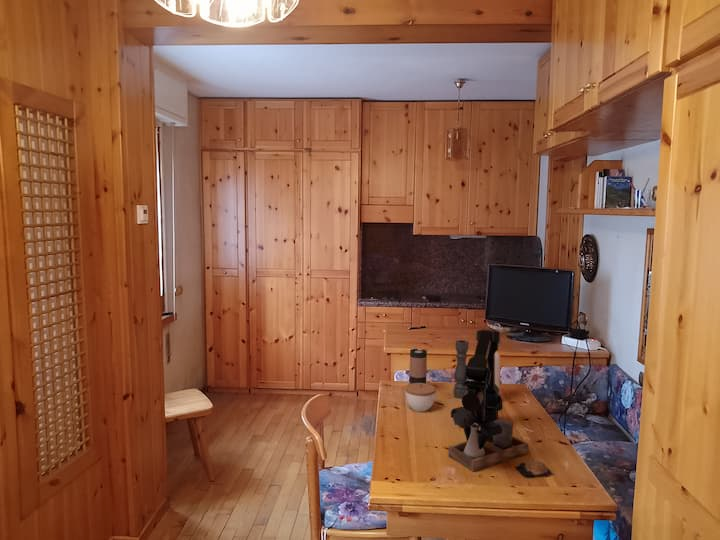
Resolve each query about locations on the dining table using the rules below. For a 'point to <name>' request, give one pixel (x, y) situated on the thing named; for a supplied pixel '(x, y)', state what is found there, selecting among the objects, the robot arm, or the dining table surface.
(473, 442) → the flask
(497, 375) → the bottle
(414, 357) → the travel mug
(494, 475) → the dining table surface
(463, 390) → the candle holder
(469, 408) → the robot arm
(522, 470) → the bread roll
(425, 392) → the lidded bowl
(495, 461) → the cruet stand
